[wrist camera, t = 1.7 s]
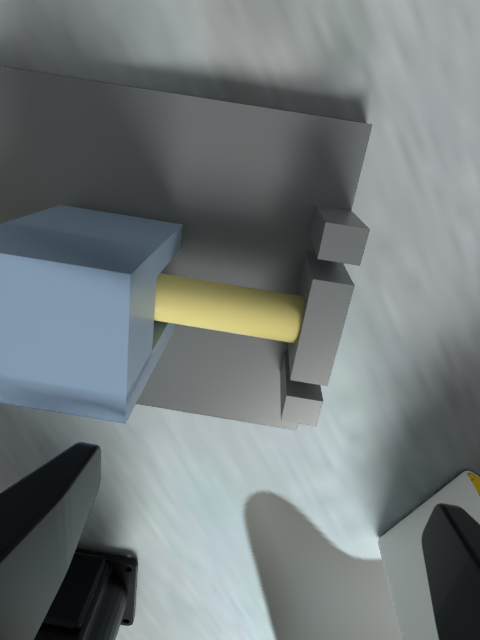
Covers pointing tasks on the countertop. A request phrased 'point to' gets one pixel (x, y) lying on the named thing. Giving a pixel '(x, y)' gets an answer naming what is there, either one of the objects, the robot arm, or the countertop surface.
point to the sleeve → (81, 309)
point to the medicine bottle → (421, 557)
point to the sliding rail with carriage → (207, 228)
